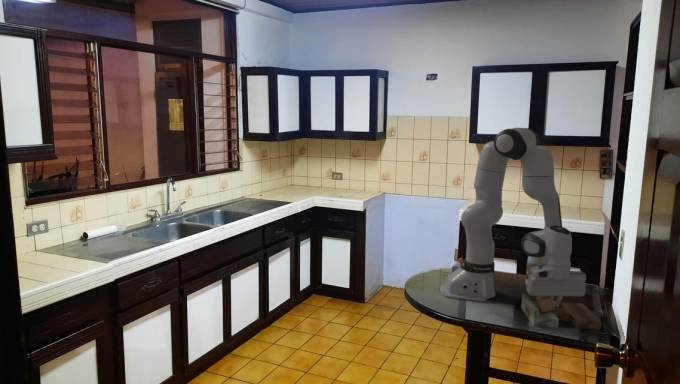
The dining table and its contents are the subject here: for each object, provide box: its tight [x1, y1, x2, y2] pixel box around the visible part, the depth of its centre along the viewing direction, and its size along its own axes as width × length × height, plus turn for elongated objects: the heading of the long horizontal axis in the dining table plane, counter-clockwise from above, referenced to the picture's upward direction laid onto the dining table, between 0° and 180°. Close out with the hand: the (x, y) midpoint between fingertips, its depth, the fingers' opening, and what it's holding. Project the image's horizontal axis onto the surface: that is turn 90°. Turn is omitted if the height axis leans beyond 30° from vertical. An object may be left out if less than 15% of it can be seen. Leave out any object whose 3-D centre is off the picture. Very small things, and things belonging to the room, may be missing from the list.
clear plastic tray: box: [520, 293, 602, 330], centre depth 179 cm, size 23×16×6 cm
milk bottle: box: [525, 256, 544, 286], centre depth 211 cm, size 8×8×20 cm
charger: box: [451, 260, 461, 273], centre depth 230 cm, size 5×9×15 cm
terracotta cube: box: [535, 296, 554, 312], centre depth 179 cm, size 4×4×4 cm
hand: (554, 306), depth 179 cm, fingers closed
